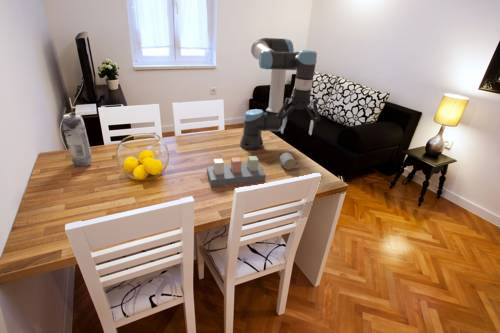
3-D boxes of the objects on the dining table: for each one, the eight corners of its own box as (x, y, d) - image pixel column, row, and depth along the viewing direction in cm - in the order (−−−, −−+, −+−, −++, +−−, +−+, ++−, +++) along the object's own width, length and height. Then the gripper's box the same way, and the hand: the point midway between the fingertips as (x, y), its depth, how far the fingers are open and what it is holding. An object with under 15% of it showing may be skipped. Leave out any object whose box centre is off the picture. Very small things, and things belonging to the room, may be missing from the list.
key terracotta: (230, 169, 145) (231, 157, 142) (238, 169, 146) (239, 157, 143) (232, 173, 142) (232, 161, 138) (240, 173, 143) (241, 161, 139)
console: (206, 173, 148) (206, 166, 146) (256, 168, 155) (257, 162, 153) (211, 187, 136) (211, 180, 134) (264, 181, 144) (265, 174, 142)
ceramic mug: (283, 171, 155) (285, 158, 151) (278, 164, 162) (280, 152, 158) (300, 170, 158) (303, 158, 154) (295, 163, 164) (297, 151, 161)
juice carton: (92, 157, 155) (81, 110, 142) (92, 166, 147) (81, 117, 134) (74, 160, 151) (61, 112, 138) (73, 169, 143) (59, 119, 130)
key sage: (247, 168, 148) (247, 156, 144) (255, 167, 149) (255, 156, 146) (249, 172, 144) (250, 160, 141) (257, 171, 145) (258, 159, 142)
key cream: (213, 171, 143) (213, 159, 140) (222, 170, 144) (222, 158, 141) (215, 175, 139) (215, 163, 136) (223, 174, 140) (223, 162, 137)
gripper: (275, 88, 119) (270, 134, 129) (332, 92, 120) (323, 137, 130) (274, 84, 125) (269, 128, 136) (328, 88, 126) (320, 131, 137)
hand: (296, 133), depth 133 cm, fingers open, 13 cm apart
